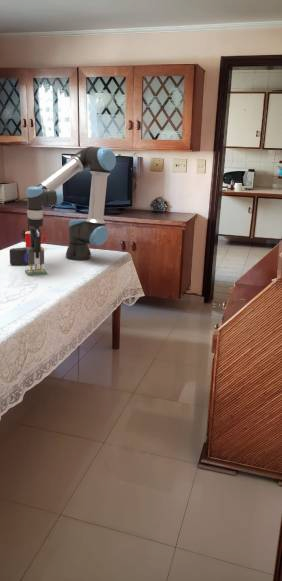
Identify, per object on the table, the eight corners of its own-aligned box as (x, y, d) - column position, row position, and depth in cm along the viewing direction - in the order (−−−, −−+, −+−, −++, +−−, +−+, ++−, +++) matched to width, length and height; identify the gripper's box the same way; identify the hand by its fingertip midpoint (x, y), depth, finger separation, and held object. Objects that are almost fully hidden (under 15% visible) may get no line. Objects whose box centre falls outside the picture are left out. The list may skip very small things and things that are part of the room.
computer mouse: (12, 267, 246) (11, 250, 243) (9, 264, 249) (8, 248, 246) (40, 264, 254) (40, 247, 251) (37, 262, 258) (37, 246, 255)
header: (44, 270, 242) (43, 260, 240) (47, 274, 236) (47, 264, 234) (25, 272, 238) (24, 261, 236) (28, 275, 232) (27, 265, 230)
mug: (24, 250, 283) (24, 233, 279) (27, 247, 290) (27, 231, 287) (44, 251, 283) (43, 234, 280) (46, 248, 291) (46, 231, 288)
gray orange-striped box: (41, 261, 239) (41, 246, 236) (44, 264, 234) (44, 248, 232) (26, 262, 235) (26, 247, 233) (28, 264, 231) (28, 249, 228)
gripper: (23, 215, 234) (24, 258, 241) (31, 221, 218) (32, 267, 225) (38, 215, 237) (38, 258, 244) (47, 221, 221) (47, 266, 229)
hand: (35, 262), depth 235 cm, fingers closed on gray orange-striped box, 5 cm apart
